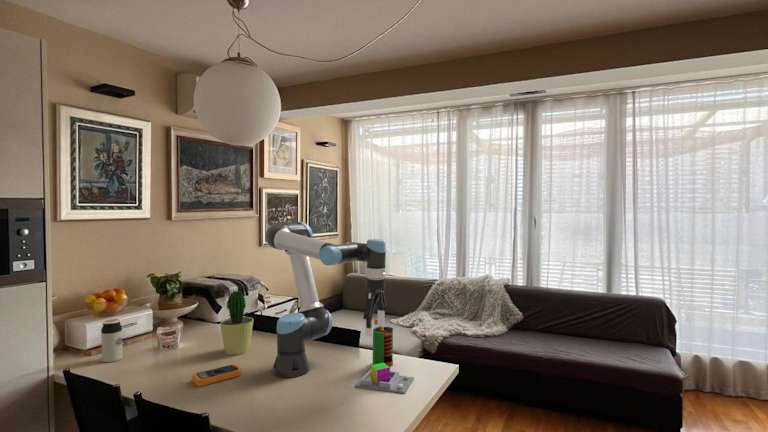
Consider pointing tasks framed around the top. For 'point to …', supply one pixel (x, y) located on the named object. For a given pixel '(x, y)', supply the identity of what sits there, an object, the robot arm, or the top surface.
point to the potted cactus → (236, 326)
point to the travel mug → (111, 340)
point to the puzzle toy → (380, 373)
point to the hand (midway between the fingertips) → (375, 330)
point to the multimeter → (216, 375)
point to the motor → (383, 345)
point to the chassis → (387, 383)
